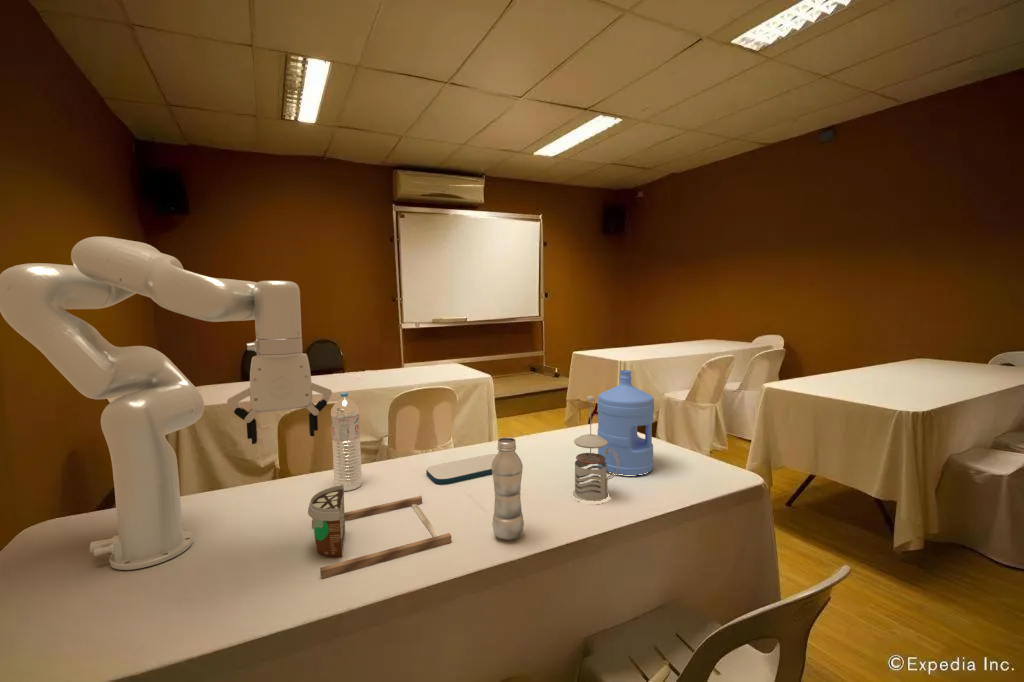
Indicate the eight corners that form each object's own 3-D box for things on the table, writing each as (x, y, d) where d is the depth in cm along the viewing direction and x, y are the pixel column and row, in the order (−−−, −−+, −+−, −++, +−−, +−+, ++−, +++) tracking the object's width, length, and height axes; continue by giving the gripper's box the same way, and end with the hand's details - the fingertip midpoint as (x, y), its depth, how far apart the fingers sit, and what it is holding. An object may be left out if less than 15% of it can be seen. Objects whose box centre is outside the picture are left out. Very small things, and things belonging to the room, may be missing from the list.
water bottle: (353, 493, 112) (348, 396, 110) (328, 491, 114) (324, 395, 112) (367, 482, 119) (363, 390, 117) (344, 480, 120) (339, 390, 118)
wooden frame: (321, 578, 77) (320, 571, 77) (312, 526, 95) (311, 519, 95) (451, 542, 88) (451, 535, 88) (420, 501, 107) (420, 496, 107)
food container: (314, 534, 92) (311, 487, 91) (345, 529, 94) (343, 483, 93) (305, 567, 80) (302, 514, 79) (341, 561, 82) (339, 509, 81)
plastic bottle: (496, 547, 86) (494, 446, 85) (489, 530, 93) (487, 436, 91) (528, 541, 88) (527, 443, 86) (518, 525, 94) (517, 434, 93)
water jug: (592, 473, 123) (592, 373, 121) (603, 455, 137) (603, 366, 135) (650, 481, 117) (651, 376, 115) (655, 461, 131) (656, 368, 129)
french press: (575, 485, 115) (574, 390, 113) (620, 491, 111) (621, 393, 109) (566, 501, 106) (566, 398, 104) (615, 508, 102) (616, 401, 100)
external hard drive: (496, 459, 137) (496, 452, 137) (515, 470, 127) (515, 463, 127) (423, 474, 125) (423, 467, 125) (437, 488, 115) (437, 481, 115)
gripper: (222, 352, 74) (227, 451, 76) (332, 347, 82) (335, 437, 84) (226, 348, 81) (231, 439, 82) (328, 344, 89) (331, 427, 90)
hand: (284, 438), depth 83 cm, fingers open, 9 cm apart
